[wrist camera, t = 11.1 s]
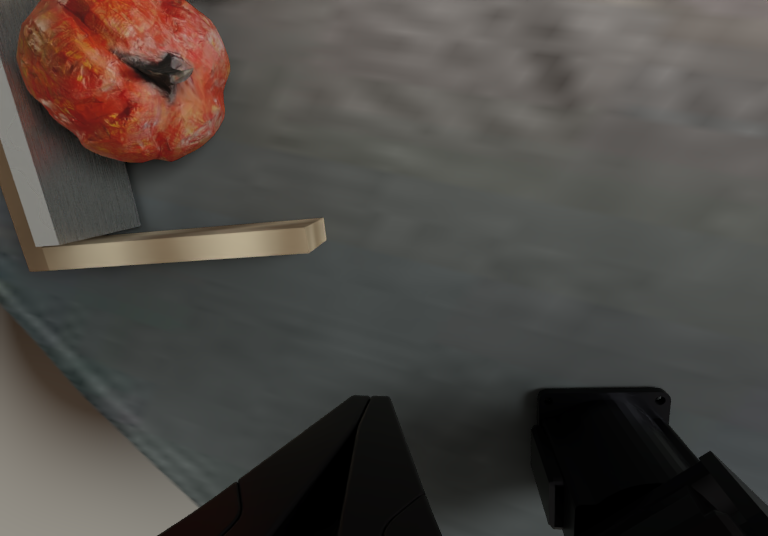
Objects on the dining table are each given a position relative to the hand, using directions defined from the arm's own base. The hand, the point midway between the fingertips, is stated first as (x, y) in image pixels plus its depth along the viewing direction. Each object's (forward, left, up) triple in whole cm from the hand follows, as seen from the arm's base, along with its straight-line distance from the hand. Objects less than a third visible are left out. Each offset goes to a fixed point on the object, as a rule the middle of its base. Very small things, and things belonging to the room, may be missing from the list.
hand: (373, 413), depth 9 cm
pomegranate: (+11, -10, -13) cm, 20 cm away
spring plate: (+15, -8, -13) cm, 22 cm away
